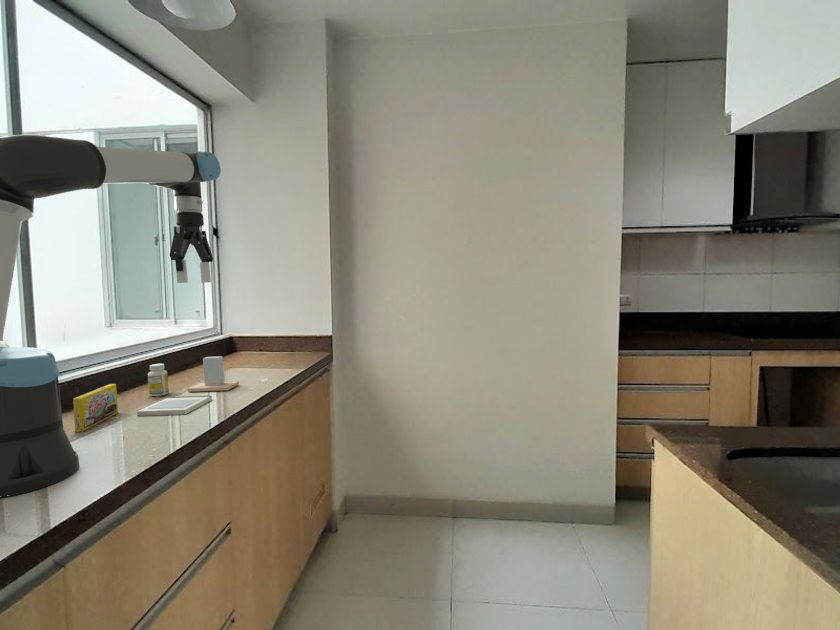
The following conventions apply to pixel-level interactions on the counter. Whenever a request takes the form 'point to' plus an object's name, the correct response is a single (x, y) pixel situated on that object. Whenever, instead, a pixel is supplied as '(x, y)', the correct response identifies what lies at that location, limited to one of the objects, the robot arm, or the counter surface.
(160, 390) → the supplement bottle
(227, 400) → the counter surface
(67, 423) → the counter surface
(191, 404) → the board
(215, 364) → the stub
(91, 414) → the candy box
